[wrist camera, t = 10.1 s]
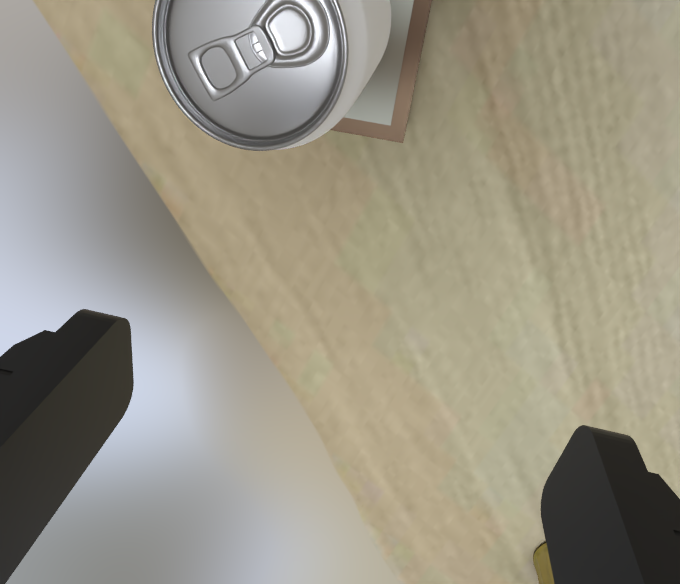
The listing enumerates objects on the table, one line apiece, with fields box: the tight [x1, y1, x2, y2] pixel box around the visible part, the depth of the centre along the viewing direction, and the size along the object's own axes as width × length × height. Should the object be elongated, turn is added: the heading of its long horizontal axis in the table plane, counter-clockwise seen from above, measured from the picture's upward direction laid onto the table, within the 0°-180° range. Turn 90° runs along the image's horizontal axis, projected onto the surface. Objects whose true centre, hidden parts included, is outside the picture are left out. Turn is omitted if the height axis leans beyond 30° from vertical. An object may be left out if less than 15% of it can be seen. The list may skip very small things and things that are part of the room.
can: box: [152, 0, 391, 151], centre depth 20 cm, size 6×6×12 cm
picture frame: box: [330, 0, 432, 143], centre depth 27 cm, size 10×10×4 cm
